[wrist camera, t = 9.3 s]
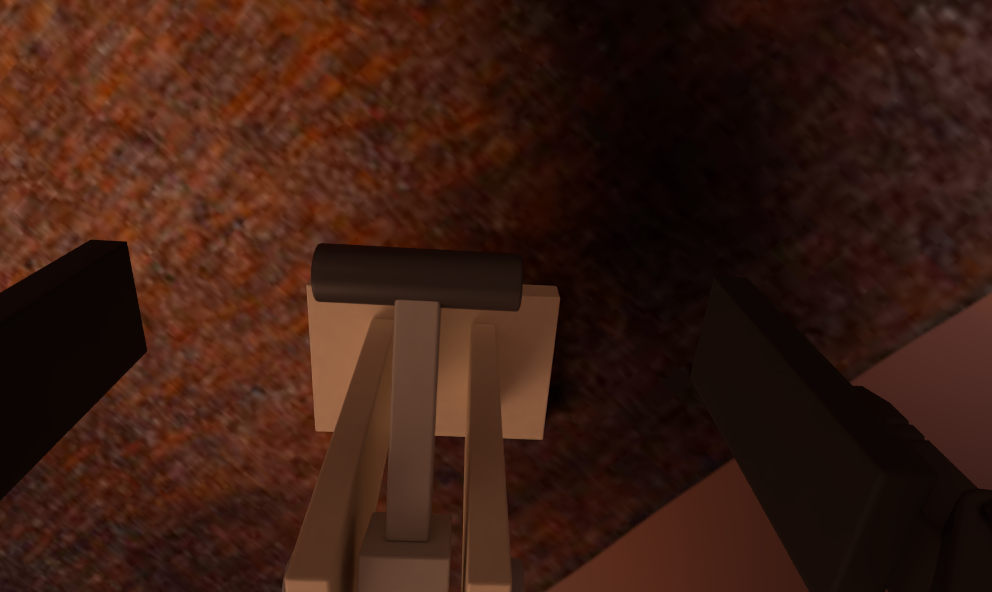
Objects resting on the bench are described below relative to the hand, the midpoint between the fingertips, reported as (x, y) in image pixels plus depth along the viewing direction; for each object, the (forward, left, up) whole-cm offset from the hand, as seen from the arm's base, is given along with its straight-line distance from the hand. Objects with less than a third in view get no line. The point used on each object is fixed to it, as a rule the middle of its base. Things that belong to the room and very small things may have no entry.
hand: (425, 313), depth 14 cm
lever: (0, +4, -1) cm, 4 cm away
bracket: (0, +7, -11) cm, 13 cm away
